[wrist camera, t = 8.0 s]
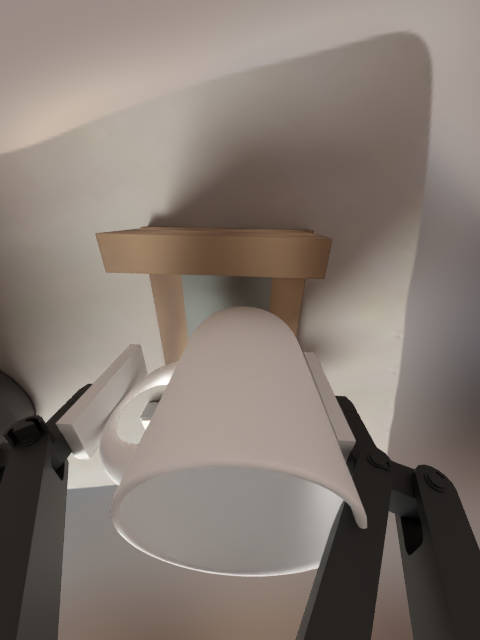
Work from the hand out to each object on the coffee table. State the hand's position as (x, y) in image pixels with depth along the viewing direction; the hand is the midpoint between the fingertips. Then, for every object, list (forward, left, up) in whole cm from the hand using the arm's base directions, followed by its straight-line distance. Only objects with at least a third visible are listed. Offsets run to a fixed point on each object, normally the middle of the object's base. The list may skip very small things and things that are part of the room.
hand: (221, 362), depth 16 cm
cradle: (0, 0, -7) cm, 7 cm away
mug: (0, 0, -2) cm, 2 cm away
